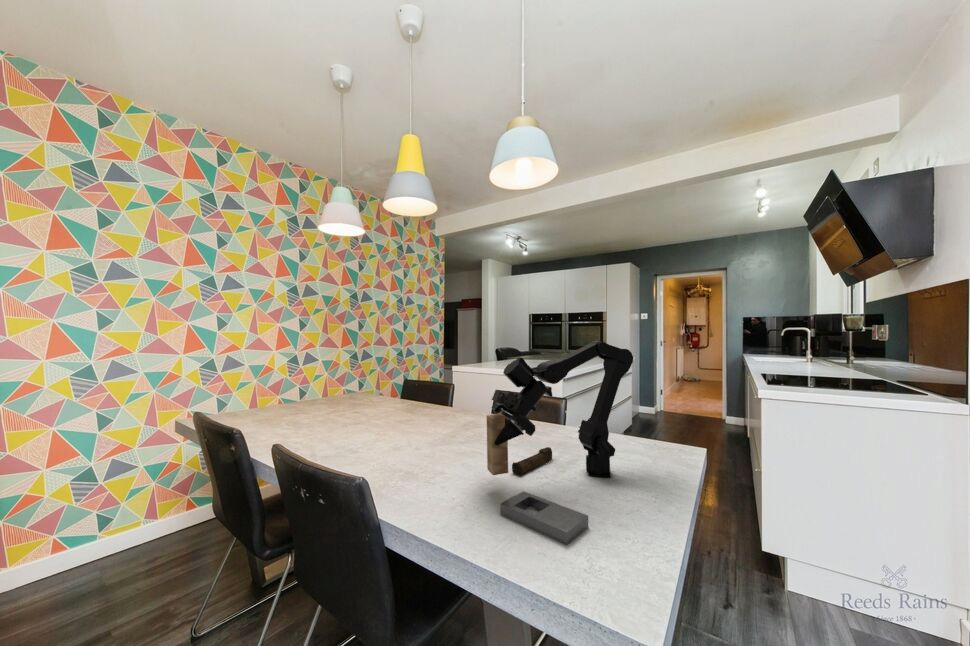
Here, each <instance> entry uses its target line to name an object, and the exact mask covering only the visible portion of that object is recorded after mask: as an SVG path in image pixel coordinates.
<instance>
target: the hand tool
mask: <svg viewBox="0 0 970 646" xmlns="http://www.w3.org/2000/svg"><path fill="white" fill-rule="evenodd" d="M550 460H551V461H552V460H553V450H552V448H551V447H548V446H547V447H544V448H543V447H542V448H540V449H539V450H538V453H536V454H533V455H531V456H529V457H526V458H524V459H521V460H519V461H517V462H512V464H511V470H512V473H514V474H513V475H515V474H516V476H518V475H519V477H520V476H522V475H525V473H526V472H528V471H529V470H532V469H535V468H536V467H539V466H541V465H547V464H549V463H550V462H551V461H550ZM549 461H550V462H549ZM548 462H549V463H548ZM546 463H547V464H546Z"/></svg>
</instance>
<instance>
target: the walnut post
mask: <svg viewBox="0 0 970 646" xmlns="http://www.w3.org/2000/svg"><path fill="white" fill-rule="evenodd" d="M505 418H507V417H506V416H504V415H503V414H495V413H494V414H493V413H492V414H486V451H487V452H486V456H487V457H486V458H487V461H486V462H487V466H486V467H487V471H488V472H489V473H490V474H491V475H492V476H497V475H504V474H508V473H509V448H508V447H509V445H508V444H509V443H508V441H509V440H508V441H506V442H504V443H502V444H500V445H498V446H497V445H495V444H494V442H495V441H496V439H497V437H498V436H499V434H500V433H501V431H502V430H503V428H504V426H505Z"/></svg>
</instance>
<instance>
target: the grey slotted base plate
mask: <svg viewBox="0 0 970 646" xmlns="http://www.w3.org/2000/svg"><path fill="white" fill-rule="evenodd" d="M528 508H531V509H534V510H535V511H539V512H537V513H536V514H534V513H532V512H530V511H527V510H526V509H528ZM499 511H500V512H499V515H501V516H503V517H506V518H507V519H510V520H511V521H514V522H516V523H518V524H521V525H522V526H525V527H527V528H529V529H531V530H532V531H533V530H534V531H535V532H538V533H540V534H541V535H545V536H546V537H549V538H550V539H553V540H555V541H557V542H559V543H562V544H563V545H566V546H568V545H569V544H571V543H572V542H573V541H574V540H575V539H576V538H577V537H579V536H580V535H581V534H582V533H584V532H585V531H586V530H587V529H588V528H589V515H587V514H585V513H583V512H580V511H577V510H575V509H572V508H569V507H567V506H564V505H561V504H559V503H555V502H553V501H550V500H548V499H545V498H543V497H540V496H537V495H535V494H531V493H529V492H526V491H521V492H520V493H518V494H516V495H514V496H511V497H510V498H508V499H506V500H505V501H503V502H501V503H500V504H499Z"/></svg>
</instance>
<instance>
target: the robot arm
mask: <svg viewBox="0 0 970 646" xmlns="http://www.w3.org/2000/svg"><path fill="white" fill-rule="evenodd" d="M597 357H598V358H600V359H601V360H603V362H602V363H603V369H604V375H603V378H602V381H601V384H600V387H599V391H598V393H597V396H596V400H595V403H594V407H593V409H592V413H591V415H590V417H589V418H588V419H587V420H586V419H582V420H581V422H580V427H579V429H578V430H577V433H578V439H579V442H580V443H581V445H582V448H583V449H584V450H585V451H587V454H586V455H585V465H586V466H585V468H586V469H585V470H586V472H587V476H588V477H597V478H607V479H608V478H609V479H611V478H612V475H611V457H614V456H615V452H616V447H614V445H612V444H611V442H610V441H609V435H610V432H609V426H608V421H609V418H610V415H611V412H612V408H613V405H614V402H615V400H616V396H617V393H618V389H619V386H620V382H621V379H622V378H623V377H624V376H625V375H626V374H627V373H628V372H629V371H630V368H631V366H632V365H633V363H634V355H633V353H632V352H631V350H630V349H627V348H620V347H617V346H614V345H611V344H609V343H606V342H605V341H602V340H592V341H590V342H589V343H588V344H586V345H584V346H582V347H580V348H577V349H576V350H575V351H574V350H573V352H571V353H568V354H566V355H564V356H563V357H560V358H556V359H550V360H546V361H543V362H540V363H539V364H537V366H535V367H531V366H530V365H529V364H528V363H527V362H526V361H525V358H523V357H521V356H520V357H519V356H518V357H517V359H515V360H513V361H511V362H510V363H509V364H507V365H506V366H505V368H504V370H503V372H502V373H503V375H504V376H505V377H506V378H507V379H508V380H509V381H510V382H511V383H512V384H513V385H514V386H515V387H517V388H522V389H521V390H520V392H519V393H516V392H515V393H514V392H512V391H510V390H507V391H506V392H503V391H501V390H498V389H495V391H494V393H493V396H492V399H491V400H492V401H494V402H495V403H493V405H492V406H491V410H493V411H494V412H493V413H494V414H503V415H504V416H506V417H507V418H505V426H504V428H503V430H502V431H501V433H500V434H499V436H498V437H497V439H496V441H495V442H494V444H495V445H497V446H498V445H500V444H502V443H504V442H506V441H510V440H512V439H515V438H517V437H520V436H523V435H525V434H526V435H527V436H529V437H532V436H533V435H534V433H535V432H536V425H535V424H534V423H533V421H531V420H530V419H529V418H528V416H529V414H530V413H531V412H533V413H535V411H536V410H537V408H536V406H537V404H538V403H539V402H540V401H541V399H542V398H543V397H544V395H545V396H547V397H549V398H553V392H552V389H553V388H552V387H551V386H549V385H546V384H547V383H548V384H552V385H555V384H558V383H560V382H561V381H562V380H563V379H565V378H566V377H567V375H569V373H570V372H571V371H572V370H574V369H575V368H578V367H580V366H581V365H583V364H586V363H587V362H589V361H591V360H593V359H594V358H597ZM536 378H537V379H536ZM545 383H546V384H545ZM523 431H524V432H523Z"/></svg>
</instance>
